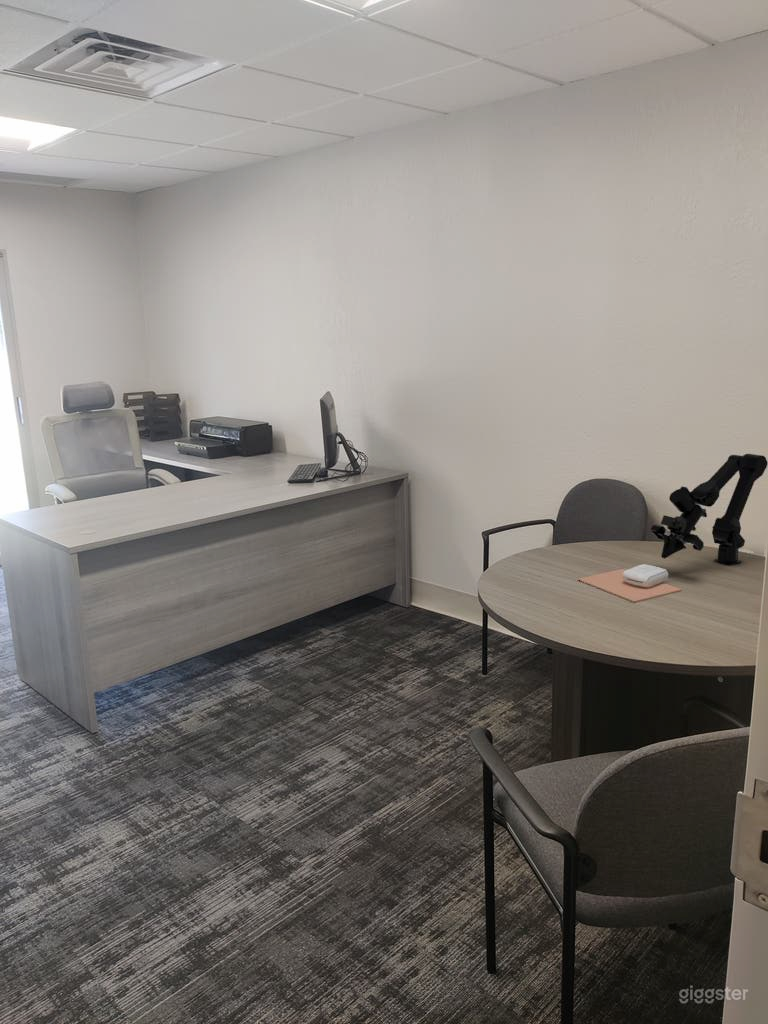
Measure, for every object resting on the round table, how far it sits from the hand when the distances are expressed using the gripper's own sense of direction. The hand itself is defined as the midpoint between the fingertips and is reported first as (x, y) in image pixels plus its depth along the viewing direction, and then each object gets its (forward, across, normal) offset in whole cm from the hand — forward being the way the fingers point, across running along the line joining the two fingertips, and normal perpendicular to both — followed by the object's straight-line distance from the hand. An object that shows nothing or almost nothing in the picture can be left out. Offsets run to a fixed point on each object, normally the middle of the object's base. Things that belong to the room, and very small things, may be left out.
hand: (662, 557), depth 255 cm
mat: (+15, 0, -6) cm, 16 cm away
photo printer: (+5, 0, 0) cm, 5 cm away
